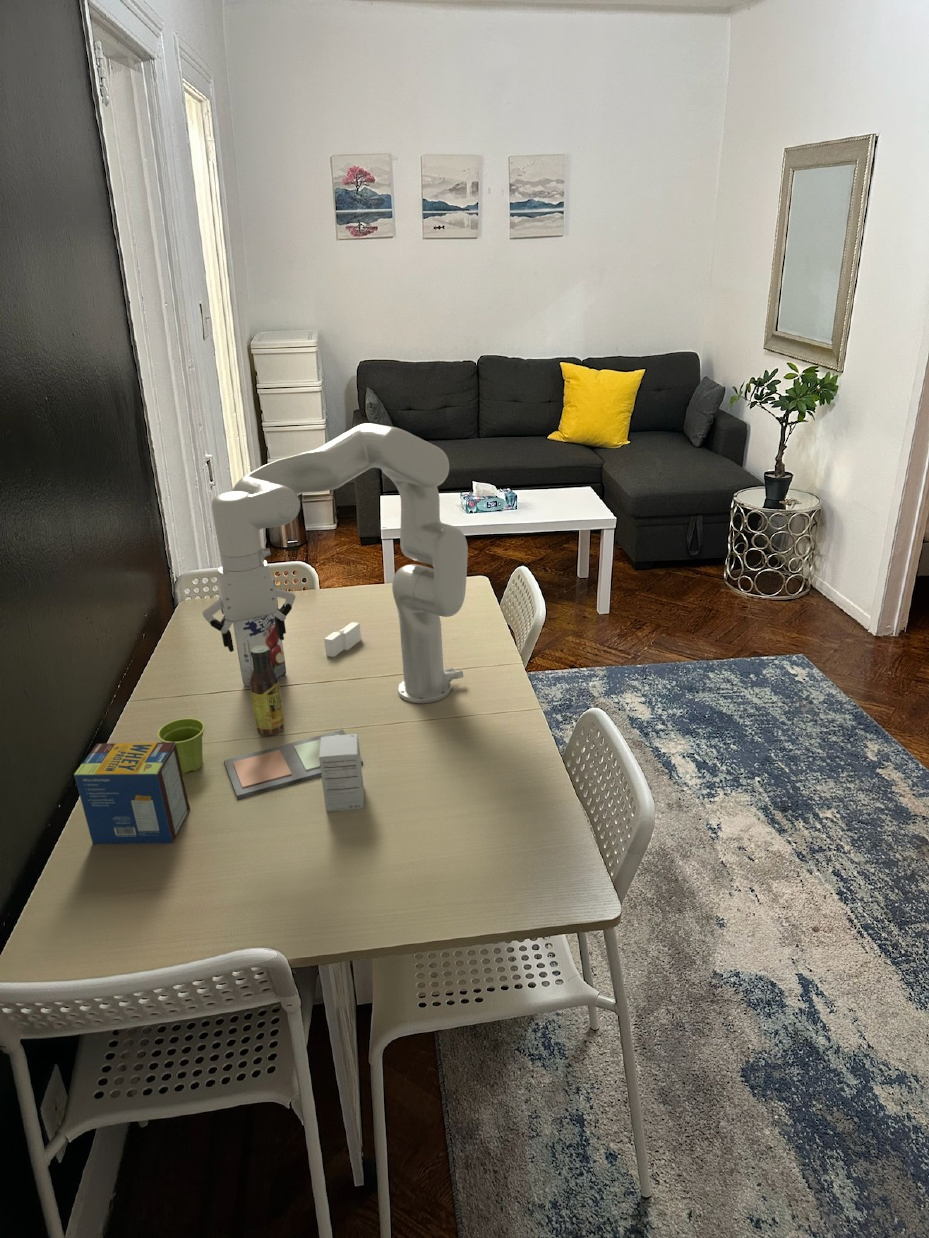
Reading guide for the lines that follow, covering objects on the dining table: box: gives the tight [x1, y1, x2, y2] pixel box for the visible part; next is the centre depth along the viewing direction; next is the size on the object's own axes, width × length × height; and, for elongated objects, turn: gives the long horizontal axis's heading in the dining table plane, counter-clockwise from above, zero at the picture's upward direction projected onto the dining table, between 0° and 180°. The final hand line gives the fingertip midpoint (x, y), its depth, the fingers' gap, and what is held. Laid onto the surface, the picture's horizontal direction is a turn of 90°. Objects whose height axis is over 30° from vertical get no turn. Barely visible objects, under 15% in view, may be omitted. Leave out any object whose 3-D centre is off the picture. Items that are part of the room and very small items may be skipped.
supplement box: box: [319, 733, 365, 812], centre depth 170 cm, size 7×7×13 cm
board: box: [223, 729, 364, 800], centre depth 184 cm, size 26×14×1 cm, turn 114°
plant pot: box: [157, 717, 206, 774], centre depth 184 cm, size 9×9×9 cm
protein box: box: [73, 742, 191, 845], centre depth 164 cm, size 10×15×16 cm
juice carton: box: [232, 579, 287, 688], centre depth 214 cm, size 9×10×27 cm
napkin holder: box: [324, 621, 362, 658], centre depth 233 cm, size 15×11×6 cm
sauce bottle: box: [250, 645, 285, 736], centre depth 194 cm, size 7×6×20 cm
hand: (255, 643), depth 169 cm, fingers open, 9 cm apart
